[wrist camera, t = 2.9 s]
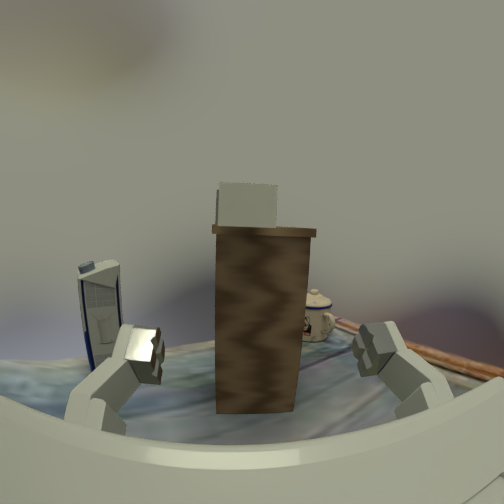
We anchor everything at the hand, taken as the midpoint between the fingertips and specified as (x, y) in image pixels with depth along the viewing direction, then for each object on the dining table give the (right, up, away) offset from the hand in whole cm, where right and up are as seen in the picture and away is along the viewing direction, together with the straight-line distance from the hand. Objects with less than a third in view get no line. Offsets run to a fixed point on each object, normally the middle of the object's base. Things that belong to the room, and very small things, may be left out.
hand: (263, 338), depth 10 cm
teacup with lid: (+14, -17, +53) cm, 57 cm away
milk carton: (-26, -18, +30) cm, 43 cm away
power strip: (-2, +6, +21) cm, 22 cm away
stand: (-1, -19, +31) cm, 36 cm away
